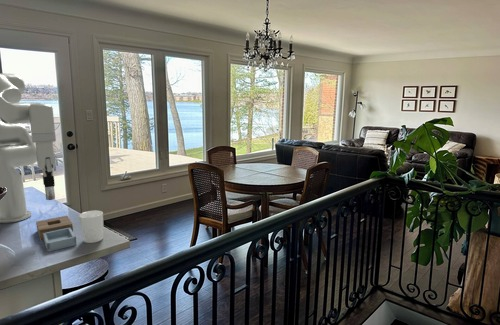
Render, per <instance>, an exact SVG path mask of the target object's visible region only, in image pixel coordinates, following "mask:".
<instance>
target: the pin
mask: <svg viewBox="0 0 500 325" xmlns="http://www.w3.org/2000/svg"><path fill="white" fill-rule="evenodd" d="M46 171H47V170H46ZM43 176H44V170H42V177H43ZM44 177H45V176H44ZM43 186H44V193H45V200H47V201H53V200H55V199H56V195H55V194H56V192H55V186H53V187H45V184H44V183H43Z"/></svg>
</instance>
